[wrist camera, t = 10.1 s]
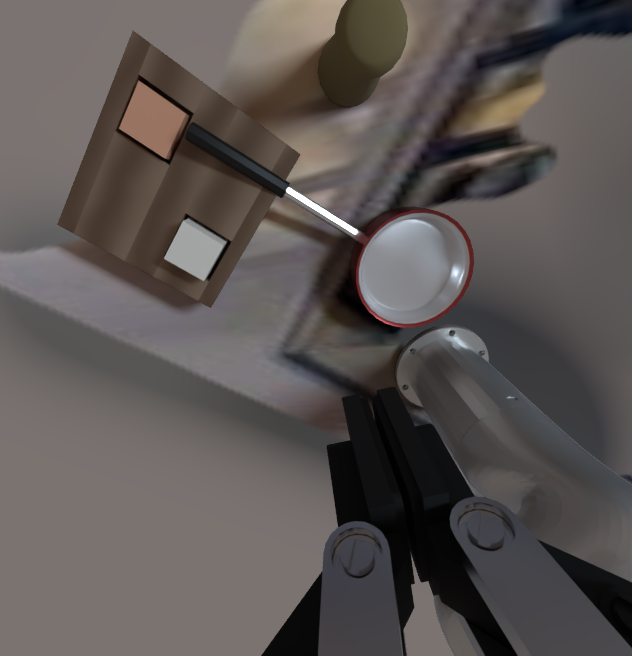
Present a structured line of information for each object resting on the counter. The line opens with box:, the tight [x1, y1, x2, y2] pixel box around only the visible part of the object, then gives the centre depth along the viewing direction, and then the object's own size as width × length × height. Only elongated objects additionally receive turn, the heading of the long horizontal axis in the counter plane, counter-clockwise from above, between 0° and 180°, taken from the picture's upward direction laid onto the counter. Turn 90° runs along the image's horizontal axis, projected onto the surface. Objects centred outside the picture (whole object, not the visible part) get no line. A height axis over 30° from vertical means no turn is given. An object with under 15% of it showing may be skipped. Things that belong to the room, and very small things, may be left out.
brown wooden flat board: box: [58, 31, 300, 308], centre depth 35 cm, size 16×18×4 cm
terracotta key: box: [119, 81, 192, 160], centre depth 31 cm, size 4×4×3 cm
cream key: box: [164, 218, 228, 281], centre depth 35 cm, size 4×4×3 cm
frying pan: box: [185, 122, 474, 327], centre depth 37 cm, size 32×13×6 cm, turn 64°
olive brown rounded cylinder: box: [318, 0, 408, 107], centre depth 29 cm, size 6×6×11 cm
